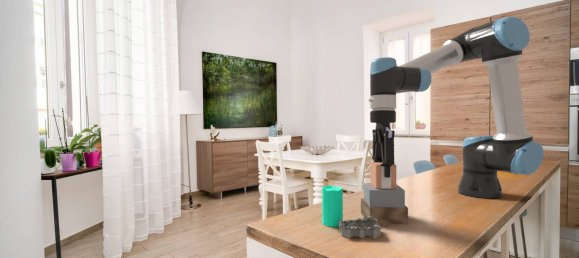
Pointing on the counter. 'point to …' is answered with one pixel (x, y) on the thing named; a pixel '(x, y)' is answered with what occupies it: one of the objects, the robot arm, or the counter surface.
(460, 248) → the counter surface
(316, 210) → the counter surface
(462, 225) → the counter surface
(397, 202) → the gray tower middle block
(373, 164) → the terracotta block
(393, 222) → the tower base
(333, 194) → the candle
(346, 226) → the egg carton
